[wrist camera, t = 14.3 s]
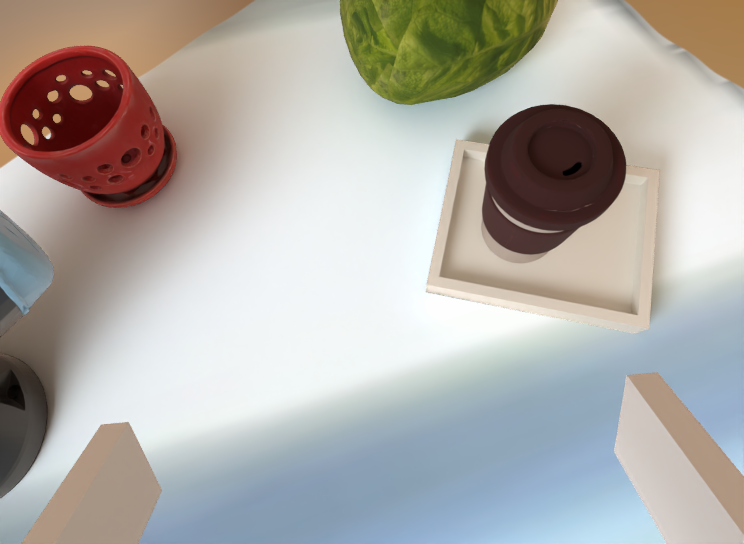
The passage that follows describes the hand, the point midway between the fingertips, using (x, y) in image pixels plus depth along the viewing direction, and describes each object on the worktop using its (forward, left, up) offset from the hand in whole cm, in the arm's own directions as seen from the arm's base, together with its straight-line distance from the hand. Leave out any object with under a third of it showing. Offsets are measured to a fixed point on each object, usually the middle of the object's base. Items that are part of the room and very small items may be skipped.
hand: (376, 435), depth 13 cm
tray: (+10, +21, -33) cm, 40 cm away
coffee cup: (+7, +21, -32) cm, 38 cm away
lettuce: (-3, +42, -33) cm, 53 cm away
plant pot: (-36, +21, -33) cm, 53 cm away
